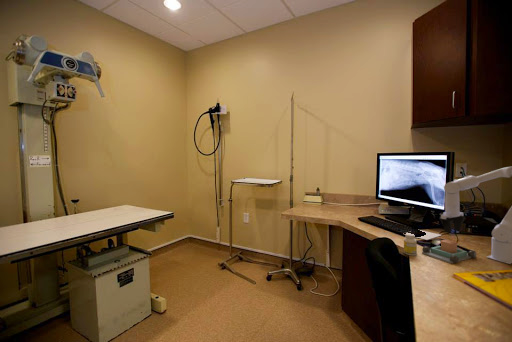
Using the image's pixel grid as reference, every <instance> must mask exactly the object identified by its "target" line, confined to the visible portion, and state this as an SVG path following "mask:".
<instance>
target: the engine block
mask: <svg viewBox="0 0 512 342" xmlns="http://www.w3.org/2000/svg"><path fill="white" fill-rule="evenodd" d="M440 243H441V251H445V252H448V253H451V254H454V253H457V249H458V242H457V241H453V240H449V239H443V240H440ZM440 243H439V244H440Z"/></svg>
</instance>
